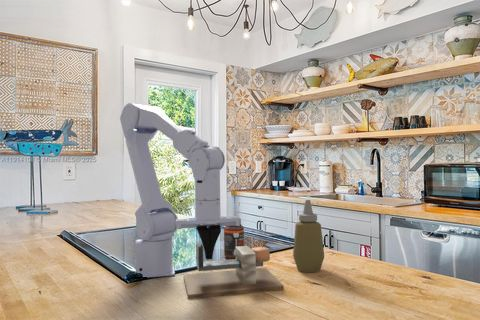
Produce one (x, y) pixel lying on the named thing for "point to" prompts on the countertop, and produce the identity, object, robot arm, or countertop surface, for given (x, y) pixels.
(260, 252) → the block
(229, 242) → the supplement bottle
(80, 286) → the countertop surface
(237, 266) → the grey l-shaped bar
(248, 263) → the stand
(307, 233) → the squeeze bottle
